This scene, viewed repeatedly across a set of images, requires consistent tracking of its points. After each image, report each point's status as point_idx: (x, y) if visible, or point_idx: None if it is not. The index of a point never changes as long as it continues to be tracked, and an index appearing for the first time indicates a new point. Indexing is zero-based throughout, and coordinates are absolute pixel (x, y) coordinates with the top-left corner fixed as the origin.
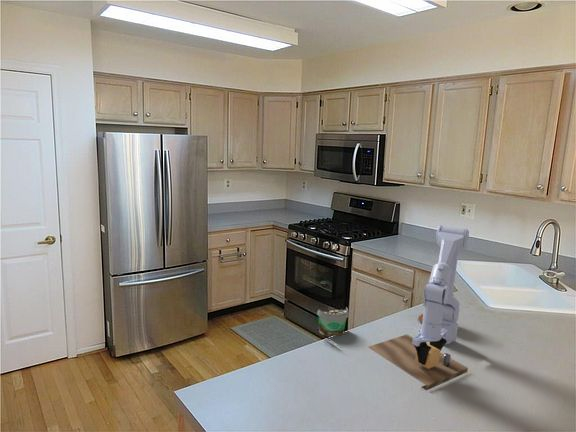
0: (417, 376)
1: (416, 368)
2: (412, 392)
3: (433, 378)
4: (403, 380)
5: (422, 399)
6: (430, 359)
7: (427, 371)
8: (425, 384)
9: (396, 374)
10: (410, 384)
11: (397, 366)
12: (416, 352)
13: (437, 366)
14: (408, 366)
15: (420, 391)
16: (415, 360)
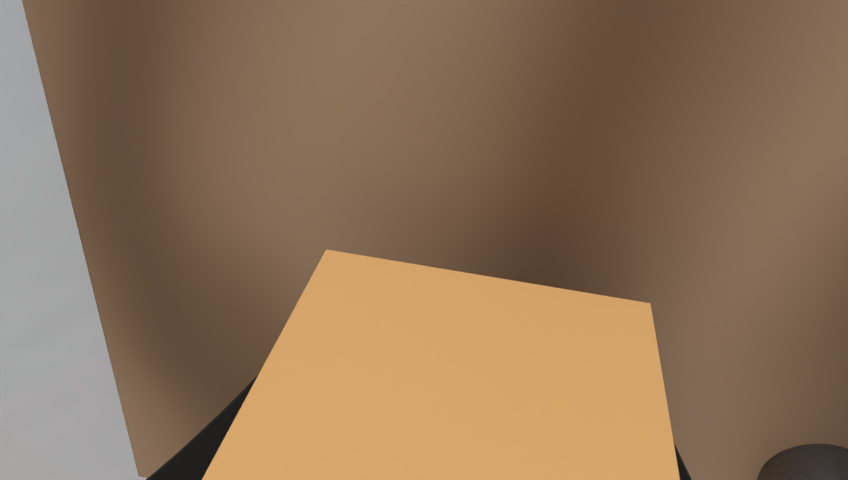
0: (160, 353)
1: (300, 262)
2: (3, 365)
3: None
4: (33, 208)
5: (35, 451)
6: None
7: None
8: (137, 460)
9: (17, 70)
10: (69, 295)
11: (31, 34)
12: (255, 391)
13: None
14: (219, 157)
15: (95, 402)
16: (322, 260)
